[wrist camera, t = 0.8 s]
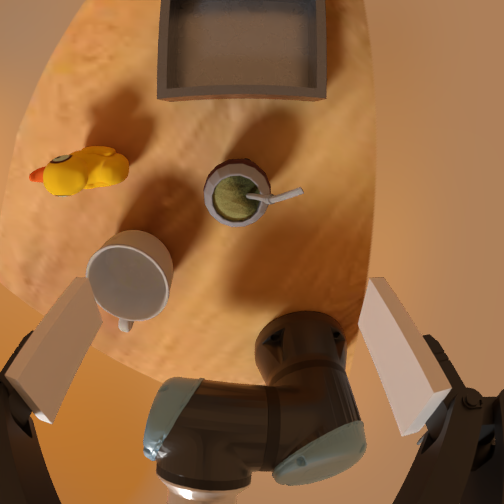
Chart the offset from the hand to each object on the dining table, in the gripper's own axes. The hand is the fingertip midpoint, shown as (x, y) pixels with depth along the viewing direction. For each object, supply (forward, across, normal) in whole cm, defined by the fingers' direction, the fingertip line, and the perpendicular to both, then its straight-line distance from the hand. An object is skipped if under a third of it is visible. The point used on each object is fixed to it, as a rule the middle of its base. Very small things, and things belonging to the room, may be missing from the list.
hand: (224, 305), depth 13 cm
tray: (+25, 0, -17) cm, 30 cm away
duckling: (+25, +18, -3) cm, 31 cm away
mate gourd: (+25, 0, 0) cm, 25 cm away
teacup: (+25, +14, +12) cm, 31 cm away
